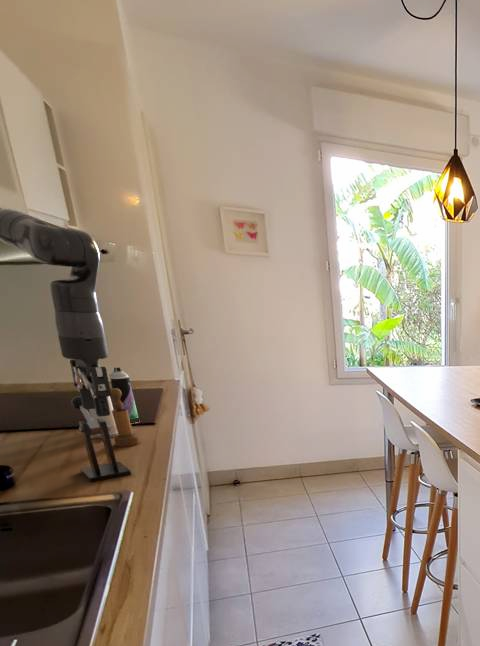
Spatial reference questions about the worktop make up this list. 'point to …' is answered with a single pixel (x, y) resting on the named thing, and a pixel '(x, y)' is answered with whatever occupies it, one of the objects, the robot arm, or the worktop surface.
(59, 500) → the worktop surface
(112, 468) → the bracket
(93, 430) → the tap lever
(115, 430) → the travel mug
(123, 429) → the wooden pepper mill
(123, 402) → the spray can
